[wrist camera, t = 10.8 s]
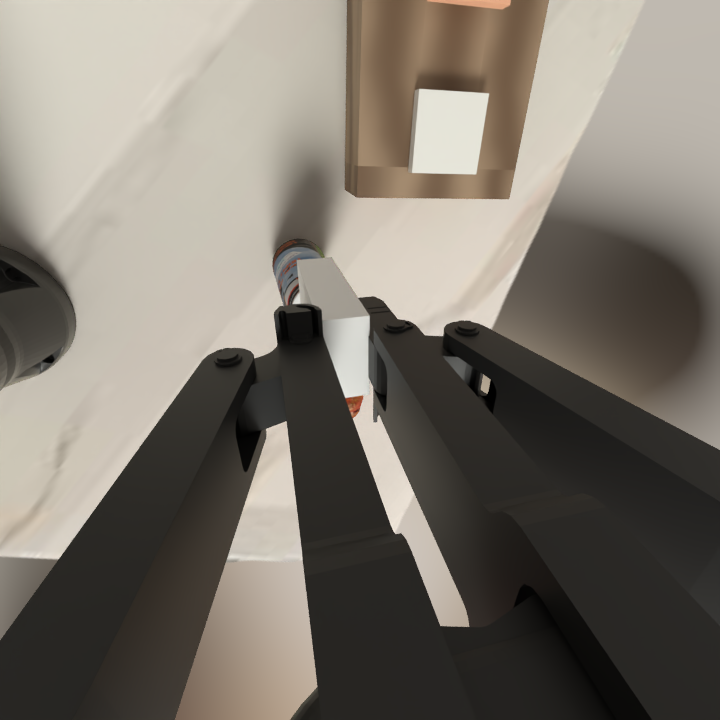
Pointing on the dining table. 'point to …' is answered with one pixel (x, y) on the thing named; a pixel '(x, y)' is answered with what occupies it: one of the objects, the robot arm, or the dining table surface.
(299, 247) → the beverage can
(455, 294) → the dining table surface
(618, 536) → the robot arm
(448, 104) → the white block
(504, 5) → the terracotta key
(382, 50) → the brown boxy piece
